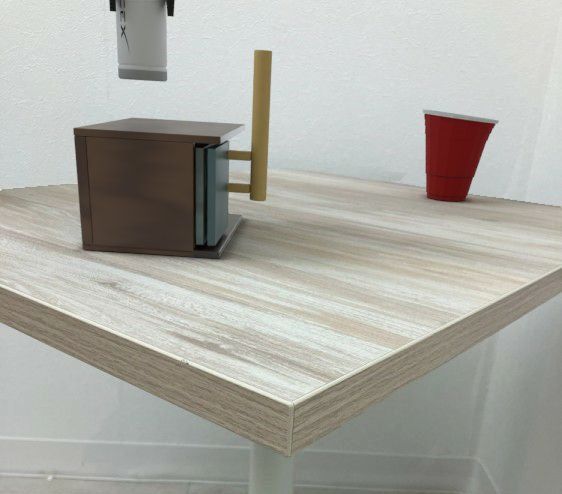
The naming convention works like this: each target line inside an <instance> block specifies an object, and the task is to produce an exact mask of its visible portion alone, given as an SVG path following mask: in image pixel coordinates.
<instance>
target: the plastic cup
mask: <svg viewBox="0 0 562 494" xmlns="http://www.w3.org/2000/svg"><path fill="white" fill-rule="evenodd" d="M422 114H424V115H423V117H424V118H423V119H424V135H425V164H424V165H425V166H424V167H425V170H424V171H425V172H424V173H425V192H426V197H427V198H429V199H432V200H439V201H446V202H463V201H465V200H466V199H467V197H468V196H469V195H468V194H469V191H470V188H471V185H472V182H473V179H474V178H475V176H476V172H477V169H478V168H479V164H480V161H481V158H482V156H483V153H484V149H485V147H486V144H487V142H488V140H489V137H490V136H491V135H490V134H492V131H493V130H494V128H495V127H496V125H497V124H499V121H500V120H499V119H494V118H493V119H492V118H488V117H487V118H486V117H480V116H473V115H469V114H461V113H455V112H447V111H439V110H432V109H424V108H423V109H422Z"/></svg>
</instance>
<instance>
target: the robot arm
mask: <svg viewBox="0 0 562 494" xmlns="http://www.w3.org/2000/svg"><path fill="white" fill-rule="evenodd" d="M175 1H176V0H166V17H174V16H175ZM108 3H109V4H108V5H109V12H113V13H114V12H115V13H116V0H109V1H108Z"/></svg>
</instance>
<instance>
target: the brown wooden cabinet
mask: <svg viewBox="0 0 562 494" xmlns="http://www.w3.org/2000/svg"><path fill="white" fill-rule="evenodd" d="M244 131H246V124H245V123H230V122H212V121H199V120H197V121H196V120H181V119H180V120H179V119H162V118H148V117H147V118H145V117H128V118H122V119H117V120H111V121H105V122H100V123H93V124H88V125H83V126H77V127H73V128H72V132H73V140H74V153H75V155H74V156H75V166H76V181H77V194H78V206H79V207H78V208H79V219H80V230H81V245H82V246H81V247H82V250H83V251H96V252H97V251H99V252H112V253H113V252H115V253H126V254H127V253H129V254H144V255H159V256H173V257H189V258H190V257H191V258H204V259H216V260H217V259H218V260H219V259H220V258H221V256H222V254H223V253H224V251H225V250H226V248H227V246H228V244H229V243H230V241H231V239H232V238H233V236H234V235H235V233H236V231H237V230H238V228H239V226H240V225H241V223H242V222H243V219H244V217H243V215H244V214H239V213H228V227H227V229H226V230H225V232H224V233H223V235H222V236H221V238H220V239H219V240H218V242H217V243H216V245H215V246H209V245H207V201H208V148H209V147H211V146H213V145H215V144H221V143H223V142H225V141H227V140H228V141H229V140H231V139H232V138H234V137H235V136H237V135H239V134H240V133H242V132H244Z"/></svg>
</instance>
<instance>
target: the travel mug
mask: <svg viewBox="0 0 562 494" xmlns="http://www.w3.org/2000/svg"><path fill="white" fill-rule="evenodd" d="M115 28H116V29H115V30H116V50H117V51H116V52H117V64H118V65H117V75H118V78H119V79H120V80H130V81H131V80H132V81H145V82H146V81H148V82H164V83H166V82H167V81H168V68H167V66H168V42H167V41H168V34H167V32H168V31H167V5H166V0H116V12H115Z"/></svg>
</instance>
